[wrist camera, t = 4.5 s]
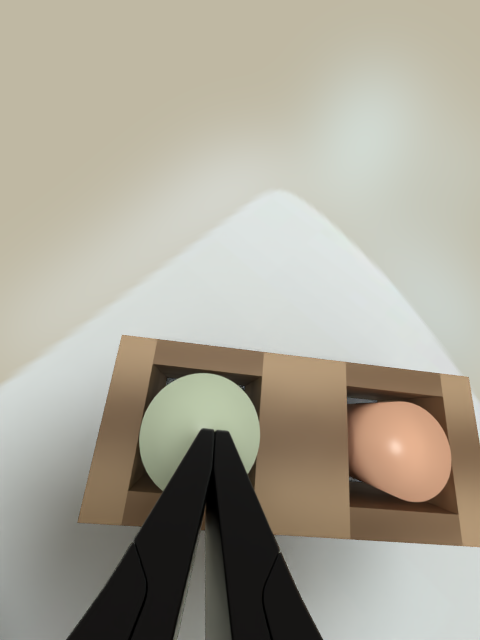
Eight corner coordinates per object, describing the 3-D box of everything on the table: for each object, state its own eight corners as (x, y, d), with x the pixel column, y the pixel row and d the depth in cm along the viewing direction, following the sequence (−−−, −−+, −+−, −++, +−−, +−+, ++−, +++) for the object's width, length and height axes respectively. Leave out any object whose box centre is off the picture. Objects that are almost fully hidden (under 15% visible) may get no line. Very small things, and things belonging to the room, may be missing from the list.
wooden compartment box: (408, 506, 19) (496, 548, 13) (118, 485, 17) (77, 522, 11) (398, 385, 21) (468, 376, 16) (145, 356, 20) (121, 334, 14)
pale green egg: (238, 475, 15) (255, 506, 10) (152, 468, 14) (126, 497, 9) (245, 388, 16) (263, 379, 11) (167, 380, 16) (152, 367, 11)
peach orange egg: (389, 479, 18) (457, 505, 13) (322, 474, 17) (367, 498, 12) (384, 407, 19) (444, 406, 14) (322, 400, 19) (363, 397, 14)
